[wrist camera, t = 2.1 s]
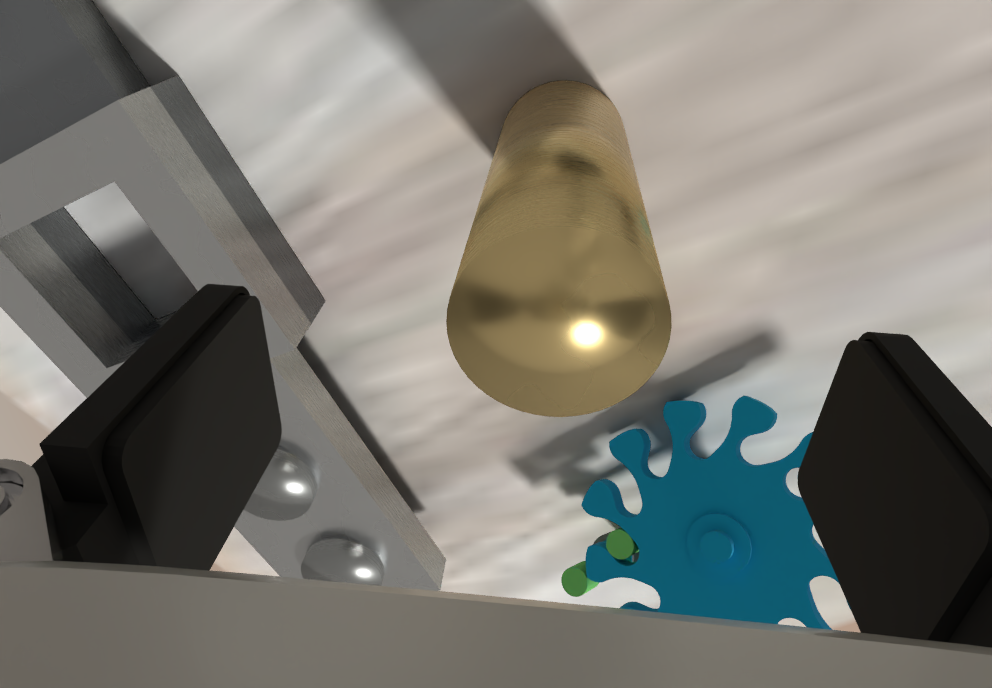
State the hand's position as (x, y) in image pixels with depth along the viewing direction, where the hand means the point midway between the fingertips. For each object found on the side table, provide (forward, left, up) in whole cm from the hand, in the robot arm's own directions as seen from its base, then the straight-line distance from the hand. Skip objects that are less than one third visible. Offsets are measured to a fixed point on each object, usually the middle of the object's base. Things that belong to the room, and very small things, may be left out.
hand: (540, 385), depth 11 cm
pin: (-1, 0, -10) cm, 10 cm away
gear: (+11, +6, -11) cm, 17 cm away
